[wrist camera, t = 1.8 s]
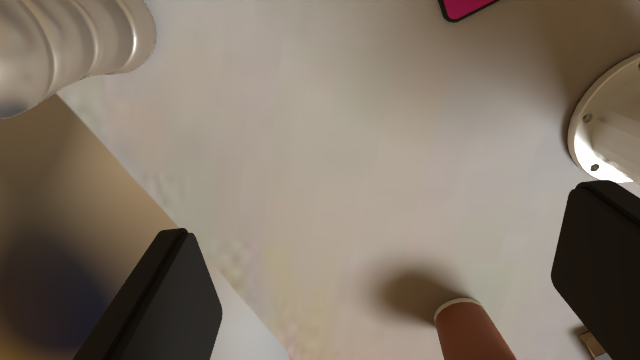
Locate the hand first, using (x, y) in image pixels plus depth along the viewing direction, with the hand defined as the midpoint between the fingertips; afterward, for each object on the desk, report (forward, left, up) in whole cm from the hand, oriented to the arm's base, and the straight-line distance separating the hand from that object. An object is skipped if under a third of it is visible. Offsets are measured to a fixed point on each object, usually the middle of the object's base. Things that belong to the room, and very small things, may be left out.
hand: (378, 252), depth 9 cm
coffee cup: (-18, +30, -25) cm, 43 cm away
